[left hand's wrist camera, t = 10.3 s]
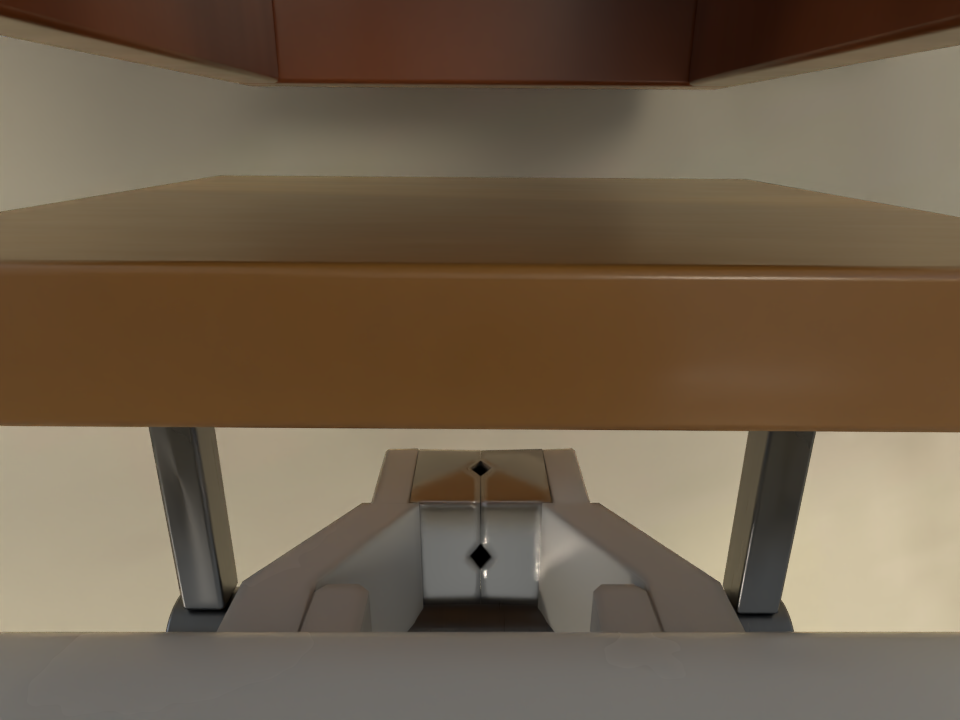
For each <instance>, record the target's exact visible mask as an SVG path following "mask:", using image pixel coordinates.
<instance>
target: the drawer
mask: <svg viewBox="0 0 960 720" xmlns="http://www.w3.org/2000/svg"><path fill="white" fill-rule="evenodd" d="M0 35H1V36H6V37H11V38H16V39H21V40H26V41H31V42H36V43H40V44H45V45H50V46H55V47H60V48H65V49H70V50H75V51H80V52H85V53H90V54H95V55H100V56H105V57H110V58H115V59H120V60H125V61H130V62H135V63H140V64H145V65H149V66H154V67H159V68H164V69H169V70H174V71H179V72H184V73H189V74H194V75H199V76H204V77H209V78H214V79H219V80H224V81H229V82H234V83H239V84H244V85H249V86H294V87H428V88H562V89H697V90H715V89H721V88H726V87H732V86H737V85H743V84H748V83H754V82H759V81H765V80H770V79H776V78H781V77H787V76H792V75H798V74H803V73H808V72H814V71H819V70H825V69H830V68H836V67H841V66H847V65H852V64H858V63H863V62H869V61H874V60H880V59H885V58H891V57H896V56H902V55H907V54H913V53H918V52H923V51H929V50H934V49H940V48H945V47H951V46H956V45H960V0H0ZM0 426H94V427H149V431H150V436H151V442H152V447H153V452H154V458H155V463H156V468H157V473H158V479H159V484H160V489H161V494H162V500H163V505H164V510H165V515H166V521H167V526H168V531H169V537H170V542H171V547H172V552H173V558H174V563H175V568H176V573H177V579H178V584H179V589H180V596H179V598H178V599H177V601H176V603H175V605H174V607H173V609H172V612H171V614H170V617H169V621H168V624H167V629H166V632H217V630H218V628H219V626H220V624H221V622H222V620H223V618H224V616H225V614H226V612H227V610H228V608H229V607H230V605H231V603H232V601H233V599H234V597H235V595H236V593H237V591H238V589H239V587H236V586H237V583H238V580H237V573H236V567H235V560H234V553H233V547H232V540H231V534H230V527H229V520H228V514H227V507H226V500H225V494H224V487H223V480H222V474H221V467H220V461H219V454H218V447H217V441H216V434H215V427H243V428H393V429H542V430H691V431H749V432H748V438H747V444H746V450H745V456H744V462H743V468H742V474H741V480H740V486H739V492H738V498H737V504H736V510H735V516H734V522H733V527H732V533H731V539H730V545H729V551H728V557H727V563H726V569H725V575H724V581H723V588H724V591H725V593H726V595H727V597H728V599H729V601H730V603H731V605H732V607H733V609H734V611H735V613H736V614H737V616H738V618H739V620H740V622H741V624H742V626H743V628H744V630H745V632H794V630H793V626H792V622H791V619H790V616H789V614H788V611H787V609H786V607H785V605H784V603H783V602H782V600H781V597H782V592H783V587H784V582H785V577H786V573H787V568H788V563H789V558H790V553H791V549H792V544H793V539H794V534H795V529H796V525H797V520H798V515H799V510H800V505H801V501H802V496H803V491H804V486H805V481H806V477H807V472H808V467H809V462H810V457H811V453H812V448H813V443H814V438H815V433H816V431H841V432H960V217H955V216H950V215H944V214H938V213H933V212H927V211H921V210H916V209H910V208H904V207H899V206H893V205H887V204H882V203H876V202H871V201H865V200H859V199H854V198H848V197H842V196H837V195H831V194H825V193H820V192H814V191H809V190H803V189H797V188H792V187H786V186H780V185H775V184H769V183H763V182H758V181H752V180H747V179H637V178H499V177H362V176H224V175H220V176H214V177H208V178H202V179H196V180H189V181H183V182H177V183H171V184H165V185H159V186H153V187H147V188H141V189H135V190H129V191H123V192H117V193H111V194H105V195H99V196H93V197H87V198H81V199H75V200H68V201H62V202H56V203H50V204H44V205H38V206H32V207H26V208H20V209H14V210H8V211H2V212H0ZM408 632H554V631H553V629H552V628H551V627H550V626H549V625H548V623H547V622H546V620H545V618H544V616H543V615H542V613H541V611H540V610H539V608H538V605H498V604H481V588H480V604H445V605H423V609H422V611H421V612H420V614H419V616H418V617H417V619H416V621H415V623H414V624H413V625H412V627H411V628H410V629H409V630H408Z"/></svg>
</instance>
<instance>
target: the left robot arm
mask: <svg viewBox="0 0 960 720" xmlns="http://www.w3.org/2000/svg"><path fill="white" fill-rule="evenodd" d="M480 577H481V604H498V605H538V608H539V610H540V611H541V613H542V615H543V616H544V618H545V620H546V622H547V623H548V625H549V626H550V627H551V628H552V629H553V631H554V632H408V630H409V629H410V628H411V627H412V625H413V624H414V623H415V621H416V619H417V617H418V616H419V614H420V612H421V611H422V609H423V605H445V604H480ZM0 720H960V632H745V630H744V628H743V626H742V624H741V622H740V620H739V618H738V616H737V614H736V613H735V611H734V609H733V607H732V605H731V603H730V601H729V599H728V597H727V595H726V593H725V591H724V589H723V587H722V585H721V583H720V582H718V581H717V580H715V579H714V578H712V577H711V576H709V575H708V574H706V573H705V572H703V571H702V570H700V569H699V568H697V567H696V566H694V565H692V564H691V563H689V562H688V561H686V560H685V559H683V558H682V557H680V556H679V555H677V554H676V553H674V552H673V551H671V550H670V549H668V548H667V547H665V546H664V545H662V544H660V543H659V542H657V541H656V540H654V539H653V538H651V537H650V536H648V535H647V534H645V533H644V532H642V531H641V530H639V529H638V528H636V527H635V526H633V525H632V524H630V523H628V522H627V521H625V520H624V519H622V518H621V517H619V516H618V515H616V514H615V513H613V512H612V511H610V510H609V509H607V508H606V507H604V506H603V505H601V504H600V503H590V501H589V497H588V494H587V491H586V487H585V484H584V480H583V477H582V474H581V470H580V467H579V463H578V460H577V456H576V453H575V450H573V449H572V448H568V449H547V450H542V449H524V450H482V451H481V450H437V449H420V450H418V448H417V449H389V450H387V451H386V453H385V456H384V460H383V463H382V467H381V470H380V474H379V477H378V481H377V484H376V488H375V491H374V495H373V498H372V502H371V503H362V504H360V505H359V506H357V507H356V508H354V509H353V510H351V511H350V512H348V513H347V514H345V515H343V516H342V517H340V518H339V519H337V520H336V521H334V522H333V523H331V524H330V525H328V526H327V527H325V528H324V529H322V530H321V531H319V532H318V533H316V534H314V535H313V536H311V537H310V538H308V539H307V540H305V541H304V542H302V543H301V544H299V545H298V546H296V547H295V548H293V549H292V550H290V551H289V552H287V553H285V554H284V555H282V556H281V557H279V558H278V559H276V560H275V561H273V562H272V563H270V564H269V565H267V566H266V567H264V568H263V569H261V570H260V571H258V572H256V573H255V574H253V575H252V576H250V577H249V578H247V579H246V580H244V581H243V582H242V583H241V585H240V587H239V589H238V591H237V593H236V595H235V597H234V599H233V601H232V603H231V605H230V607H229V608H228V610H227V612H226V614H225V616H224V618H223V620H222V622H221V624H220V626H219V628H218V630H217V632H0Z"/></svg>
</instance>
